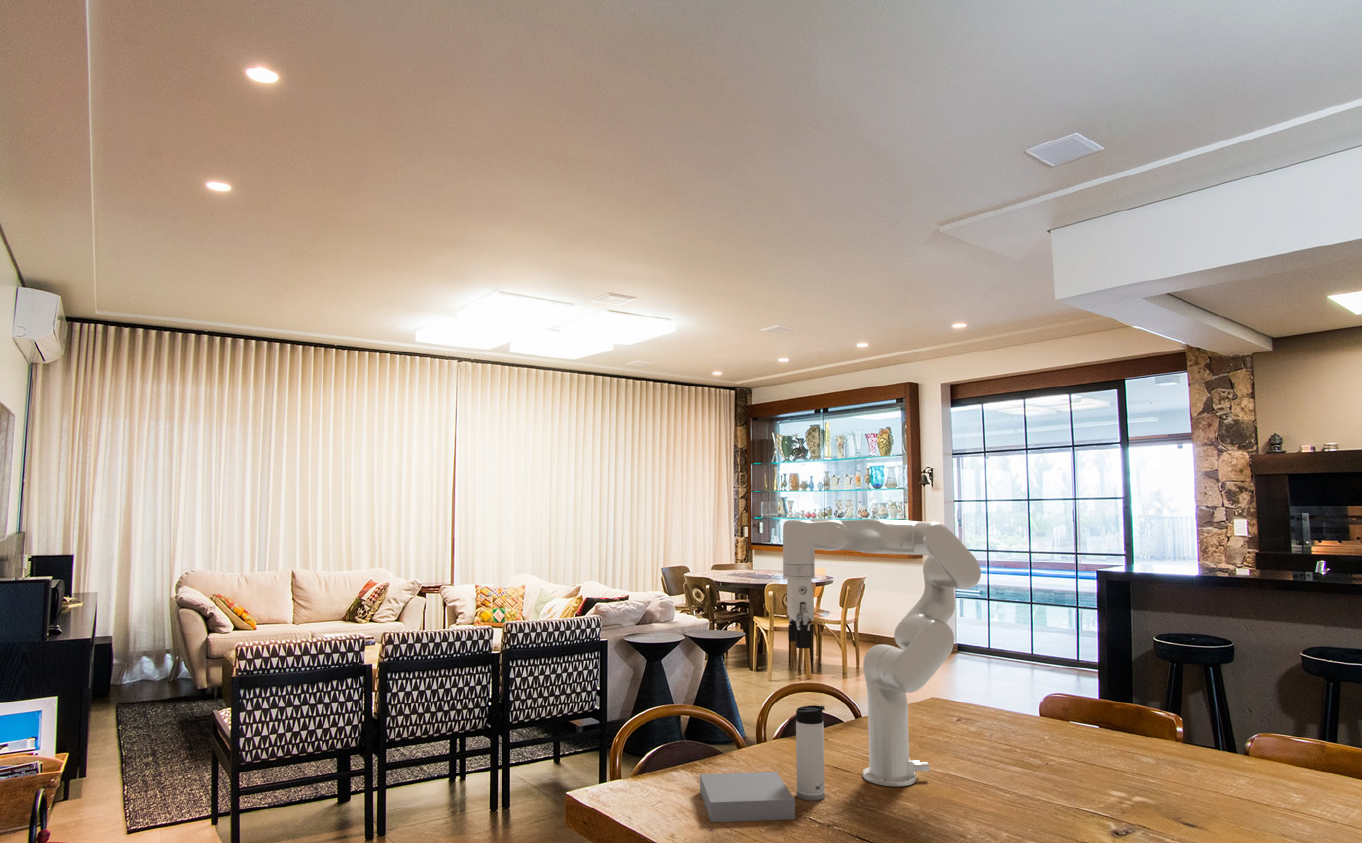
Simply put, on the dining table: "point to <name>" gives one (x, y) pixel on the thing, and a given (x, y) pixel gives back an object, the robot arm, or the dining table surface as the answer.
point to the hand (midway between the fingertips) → (799, 644)
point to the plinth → (746, 797)
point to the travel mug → (810, 752)
